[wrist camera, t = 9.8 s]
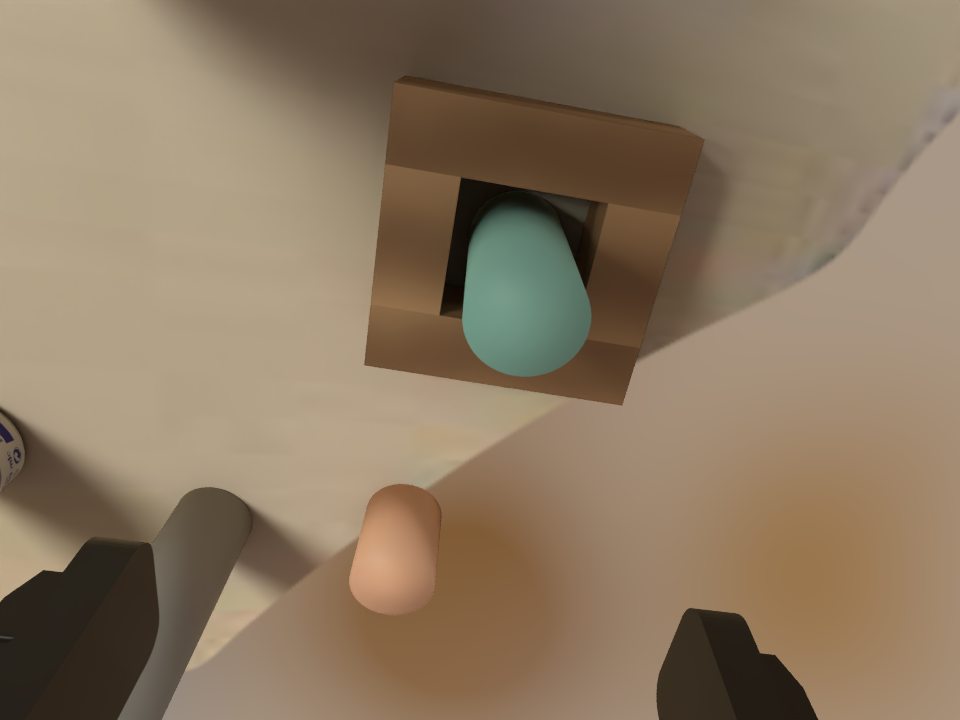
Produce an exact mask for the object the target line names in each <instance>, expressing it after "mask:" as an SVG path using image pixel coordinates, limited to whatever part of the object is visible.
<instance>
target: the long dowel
mask: <svg viewBox="0 0 960 720" xmlns="http://www.w3.org/2000/svg"><path fill="white" fill-rule="evenodd" d="M251 528H252V516H251V513H250V511H249V509H248V507H247V506H246V505H245V503H244V502H243V501H242V500H240V499H239V498H238V497H236V496H235V495H233V494H231V493H230V492H227V491H225V490H221V489H217V488H199V489H195V490H192V491H190V492H189V493H187V494H186V495H184V496H183V498H182V499H181V500H180V502H179V503H178V505H177V506H176V508H175V509H174V511H173V513H172V514H171V516H170V517H169V519H168V520H167V522H166V523H165V525H164V526H163V528H162V529H161V531H160V532H159V534H158V536H157V537H156V539H155V540H154V542H153V543H152V545H151V547H152V549H153V555H154V565H155V575H156V585H157V595H158V604H159V628H158V633H157V638H156V641H155V645H154V648H153V651H152V653H151V656H150V658H149V660H148V662H147V664H146V666H145V668H144V670H143V672H142V674H141V676H140V677H139V679H138V681H137V683H136V685H135V687H134V689H133V691H132V693H131V695H130V697H129V698H128V700H127V702H126V704H125V706H124V708H123V710H122V712H121V714H120V716H119V718H118V719H117V720H162V718H163V715H164V713H165V711H166V709H167V707H168V705H169V703H170V701H171V698H172V696H173V694H174V692H175V690H176V688H177V686H178V684H179V682H180V679H181V677H182V675H183V673H184V671H185V669H186V667H187V665H188V662H189V660H190V658H191V656H192V654H193V652H194V650H195V648H196V646H197V643H198V641H199V639H200V637H201V635H202V633H203V631H204V629H205V626H206V624H207V622H208V620H209V618H210V616H211V614H212V612H213V610H214V607H215V605H216V603H217V601H218V599H219V597H220V595H221V593H222V590H223V588H224V586H225V584H226V582H227V580H228V578H229V576H230V573H231V571H232V569H233V567H234V565H235V563H236V561H237V559H238V557H239V554H240V552H241V550H242V548H243V546H244V544H245V542H246V540H247V537H248V535H249V533H250V531H251Z"/></svg>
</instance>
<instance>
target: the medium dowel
mask: <svg viewBox="0 0 960 720" xmlns="http://www.w3.org/2000/svg"><path fill="white" fill-rule="evenodd" d="M462 323H463V330H464V334H465V337H466V340H467V342H468V344H469V346H470V348H471V349H472V351H473V352H474V353H475V355H476V356H477V357H478V358H479V359H480V360H481V361H483V362H484V363H485V364H486V365H488V366H489V367H491V368H493V369H495V370H497V371H499V372H501V373H504V374H508V375H512V376H520V377H531V376H538V375H542V374H546V373H549V372H552V371H554V370H556V369H558V368H560V367H562V366H563V365H565V364H566V363H567V362H569V361H570V360H571V359H572V358H573V357H574V356H575V355H576V354H577V353H578V352H579V350H580V349H581V347H582V346H583V344H584V342H585V340H586V338H587V336H588V333H589V330H590V325H591V306H590V302H589V298H588V296H587V293H586V290H585V287H584V285H583V282H582V279H581V277H580V274H579V271H578V268H577V266H576V263H575V260H574V258H573V255H572V252H571V249H570V247H569V244H568V241H567V239H566V236H565V233H564V231H563V228H562V225H561V222H560V220H559V217H558V215H557V214H556V212H555V210H554V209H553V208H552V206H551V205H550V204H549V203H548V202H546V201H545V200H544V199H542V198H541V197H539V196H537V195H535V194H532V193H529V192H524V191H510V192H505V193H502V194H499V195H497V196H495V197H493V198H491V199H490V200H488V201H487V202H486V203H485V204H484V205H483V206H482V207H481V208H480V209H479V210H478V212H477V213H476V215H475V217H474V219H473V222H472V224H471V228H470V237H469V248H468V259H467V270H466V281H465V292H464V303H463V315H462Z"/></svg>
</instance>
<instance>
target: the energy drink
mask: <svg viewBox="0 0 960 720" xmlns="http://www.w3.org/2000/svg"><path fill="white" fill-rule="evenodd" d="M24 459H25V450H24V444H23V441H22V438H21V436H20V433H19V432H18V430H17V429H16V427H15V426H14V425H13V423H12V422H11V421H10V420H9V419H8V418H7V417H6V416H5V415H3V414H2V413H1V412H0V491H1V490H2V489H3V488H4V487H5V486H6V485H7V484H9V483H10V482H11V481H12V480H13V479H14V478H15V477H16V476H17V475H18V473H19V472H20V471H21V469H22V467H23V464H24Z"/></svg>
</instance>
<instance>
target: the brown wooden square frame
mask: <svg viewBox="0 0 960 720" xmlns="http://www.w3.org/2000/svg"><path fill="white" fill-rule="evenodd" d="M703 143H704V139H702V138H700V137H698V136H696V135H694V134H692V133H691V132H689V131H687V130H685V129H683V128H681V127H679V126H674V125H668V124H663V123H658V122H652V121H647V120H641V119H636V118H631V117H625V116H620V115H614V114H609V113H604V112H598V111H593V110H587V109H582V108H577V107H571V106H566V105H560V104H555V103H550V102H544V101H539V100H533V99H528V98H523V97H517V96H512V95H506V94H501V93H496V92H490V91H485V90H479V89H474V88H469V87H463V86H458V85H452V84H447V83H442V82H436V81H431V80H425V79H420V78H414V77H409V76H404V77H402V78H401V79H399V80H397V81H396V82H394V86H393V96H392V105H391V115H390V124H389V134H388V143H387V153H386V163H385V172H384V182H383V191H382V201H381V211H380V220H379V230H378V239H377V249H376V258H375V268H374V278H373V287H372V297H371V306H370V316H369V325H368V335H367V345H366V354H365V364H364V365H366V366H373V367H379V368H385V369H392V370H398V371H405V372H411V373H418V374H424V375H430V376H437V377H443V378H450V379H456V380H462V381H469V382H475V383H482V384H488V385H495V386H501V387H507V388H514V389H520V390H527V391H533V392H539V393H546V394H552V395H559V396H565V397H572V398H578V399H584V400H591V401H597V402H604V403H610V404H617V405H622V404H623V401H624V398H625V394H626V391H627V388H628V385H629V382H630V378H631V375H632V372H633V369H634V366H635V362H636V359H637V356H638V353H639V349H640V346H641V343H642V340H643V336H644V333H645V330H646V327H647V324H648V320H649V317H650V314H651V311H652V307H653V304H654V301H655V298H656V294H657V291H658V288H659V285H660V282H661V278H662V275H663V272H664V269H665V265H666V262H667V259H668V256H669V253H670V249H671V246H672V243H673V240H674V236H675V233H676V230H677V227H678V223H679V220H680V217H681V214H682V211H683V207H684V204H685V201H686V198H687V194H688V191H689V188H690V185H691V182H692V178H693V175H694V172H695V169H696V165H697V162H698V159H699V156H700V152H701V149H702V146H703ZM461 177H462V178H468V179H473V180H479V181H485V182H490V183H496V184H502V185H507V186H513V187H519V188H524V189H530V190H536V191H541V192H547V193H553V194H558V195H564V196H570V197H575V198H581V199H587V200H591V201H590V206H589V210H588V214H587V218H586V222H585V226H584V230H583V234H582V238H581V242H580V246H579V250H578V254H577V258H576V266H577V268H578V271H579V274H580V277H581V279H582V282H583V285H584V287H585V290H586V293H587V296H588V298H589V302H590V306H591V325H590V330H589V333H588V336H587V338H586V340H585V342H584V344H583V346H582V347H581V349H580V350H579V352H578V353H577V354H576V355H575V356H574V357H573V358H572V359H571V360H570V361H569V362H567V363H566V364H565V365H563V366H562V367H560V368H558V369H556V370H554V371H552V372H549V373H546V374H542V375H538V376H531V377H520V376H512V375H508V374H504V373H501V372H499V371H497V370H495V369H493V368H491V367H489V366H488V365H486V364H485V363H484V362H483V361H481V360H480V359H479V358H478V357H477V356H476V355H475V353H474V352H473V351H472V349H471V348H470V346H469V344H468V342H467V340H466V337H465V334H464V330H463V323H462V315H463V303H464V292H465V288H460V287H454V286H447V285H445V279H446V273H447V266H448V260H449V253H450V247H451V241H452V234H453V228H454V221H455V215H456V209H457V202H458V196H459V189H460V183H461Z"/></svg>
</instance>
